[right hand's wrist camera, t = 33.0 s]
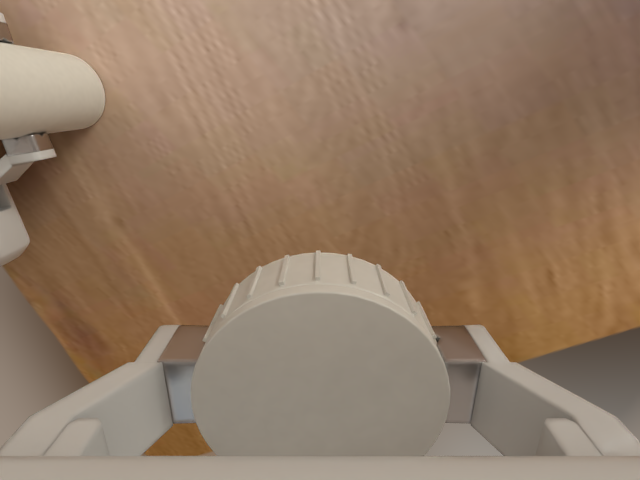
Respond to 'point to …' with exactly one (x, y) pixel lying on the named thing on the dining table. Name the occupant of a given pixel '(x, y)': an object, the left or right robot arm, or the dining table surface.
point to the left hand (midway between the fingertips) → (24, 88)
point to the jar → (46, 92)
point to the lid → (320, 364)
